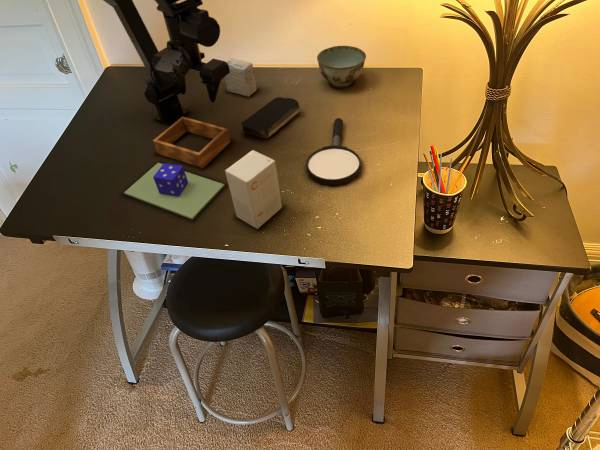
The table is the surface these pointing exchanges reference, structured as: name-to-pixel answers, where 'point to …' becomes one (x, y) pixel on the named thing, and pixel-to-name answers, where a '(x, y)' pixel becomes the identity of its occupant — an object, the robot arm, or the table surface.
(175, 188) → the die
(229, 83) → the medicine box
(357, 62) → the bowl
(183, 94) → the robot arm
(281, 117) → the black sponge
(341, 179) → the magnifying glass
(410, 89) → the table surface
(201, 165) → the pine box
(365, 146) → the table surface
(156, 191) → the mat
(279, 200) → the small box
